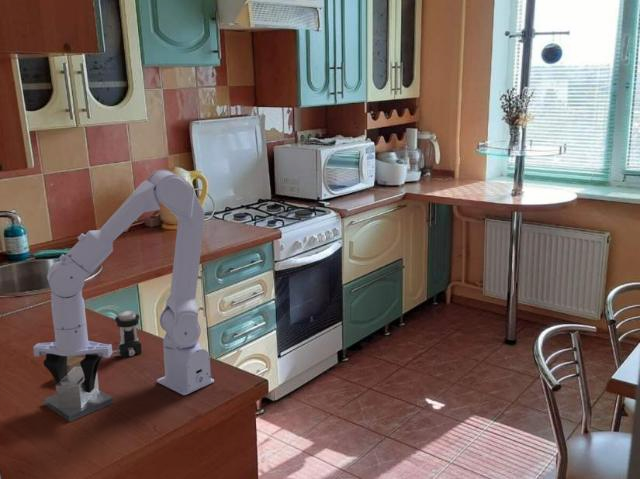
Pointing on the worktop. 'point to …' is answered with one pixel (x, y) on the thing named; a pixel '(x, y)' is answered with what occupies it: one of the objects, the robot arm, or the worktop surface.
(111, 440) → the worktop surface
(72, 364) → the tan cube
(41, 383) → the worktop surface
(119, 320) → the push button
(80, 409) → the stand
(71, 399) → the block
